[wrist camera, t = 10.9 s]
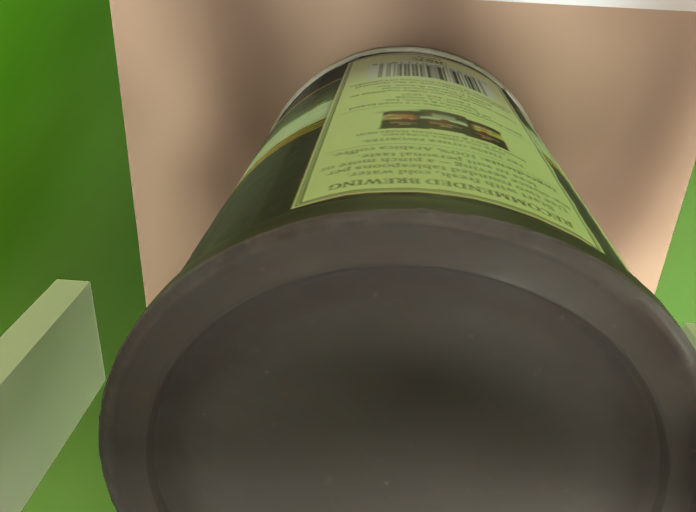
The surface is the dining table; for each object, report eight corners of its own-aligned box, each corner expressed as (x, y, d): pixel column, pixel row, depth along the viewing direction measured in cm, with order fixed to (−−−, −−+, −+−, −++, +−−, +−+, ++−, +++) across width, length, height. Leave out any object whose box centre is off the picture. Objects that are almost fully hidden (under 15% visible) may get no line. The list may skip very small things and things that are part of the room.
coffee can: (313, 335, 26) (230, 702, 14) (219, 94, 22) (-25, 306, 10) (567, 280, 24) (743, 652, 12) (517, 2, 20) (708, 118, 7)
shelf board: (162, 285, 28) (117, 351, 24) (124, -80, 22) (51, -83, 17) (622, 321, 27) (665, 397, 23) (728, -51, 21) (817, -46, 16)
